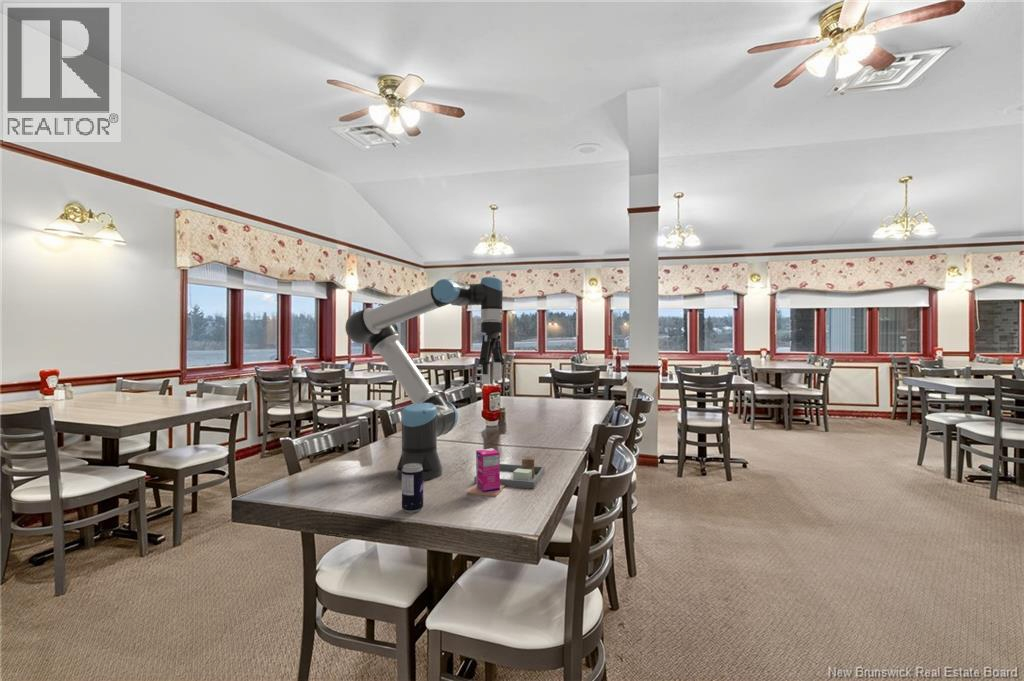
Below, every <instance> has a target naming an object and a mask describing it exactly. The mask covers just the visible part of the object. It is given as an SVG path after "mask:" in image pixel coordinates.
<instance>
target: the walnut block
mask: <svg viewBox="0 0 1024 681" xmlns="http://www.w3.org/2000/svg"><path fill="white" fill-rule="evenodd" d="M521 465H522V469H529V470H532V479H534V478H535V473H534V466H535V456H530V455H528V456H523V455H522V457H521Z"/></svg>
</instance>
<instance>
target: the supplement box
mask: <svg viewBox="0 0 1024 681" xmlns="http://www.w3.org/2000/svg"><path fill="white" fill-rule="evenodd" d="M475 456H476V457H475V461H476V462H475V463H476V464H475V468H476V470H475V471H476V472H475V473H476V475H475V476H476V484H477V487H478V488H479V489H480V490H481V491H482V492H489V491H496V490H500V479H501V477H500V475H501V474H500V473H501V472H500V471H501V470H500V464H501V463H500V462H501V461H500V452H499V451H497V450H496V449H495V448H492V447H491V448H485V449H483V448H482V449H476V450H475Z"/></svg>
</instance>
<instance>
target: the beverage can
mask: <svg viewBox="0 0 1024 681" xmlns="http://www.w3.org/2000/svg"><path fill="white" fill-rule="evenodd" d="M423 507H424V480H423V468H422V465H421V464H419V463H409V464H405V465H404V466H403V469H402V479H401V508H402V510H403V511H404V512H405V513H408V514H409V513H410V514H411V513H412V514H414V513H418V512H420V511H421V510H422V508H423Z"/></svg>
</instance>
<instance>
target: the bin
mask: <svg viewBox="0 0 1024 681" xmlns="http://www.w3.org/2000/svg"><path fill="white" fill-rule="evenodd" d="M517 468H519V469H522V464H509V463H500V471H511V472H514V471H515V470H516V469H517ZM545 468H546V467H545V466H538V465H534V474H535V473H537V474H536V476H534V478H533V479H532V481H524V480H513V479H511V478H510V479H509V478H500V485H505V487H512V488H522V489H524V488H525V489H536V487H537V485H538V484H539V482H540V480H541V479H542V477H543V476H544V475H545V472H546V470H545ZM473 482H474V485H475V484H476V475H475V476H474V479H473Z"/></svg>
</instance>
